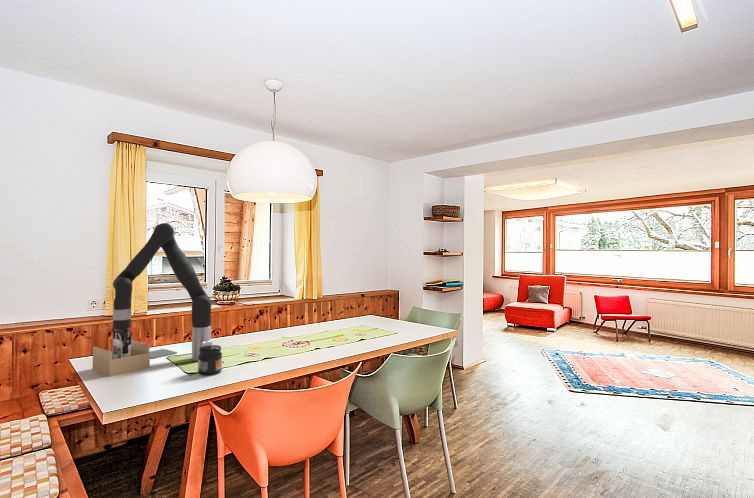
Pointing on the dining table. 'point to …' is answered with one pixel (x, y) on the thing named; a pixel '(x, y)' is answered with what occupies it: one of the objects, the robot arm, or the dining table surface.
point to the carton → (121, 360)
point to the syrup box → (120, 349)
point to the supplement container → (209, 360)
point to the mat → (160, 353)
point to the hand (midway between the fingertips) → (121, 352)
